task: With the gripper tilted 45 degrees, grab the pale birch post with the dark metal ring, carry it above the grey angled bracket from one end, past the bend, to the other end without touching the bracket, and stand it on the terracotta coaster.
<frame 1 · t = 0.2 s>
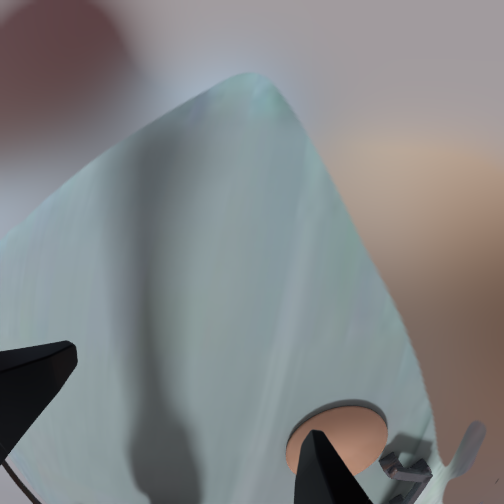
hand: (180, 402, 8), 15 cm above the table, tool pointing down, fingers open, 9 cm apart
terracotta coaster: (337, 446, 22), on the table
grey angled bracket: (418, 466, 21), on the table
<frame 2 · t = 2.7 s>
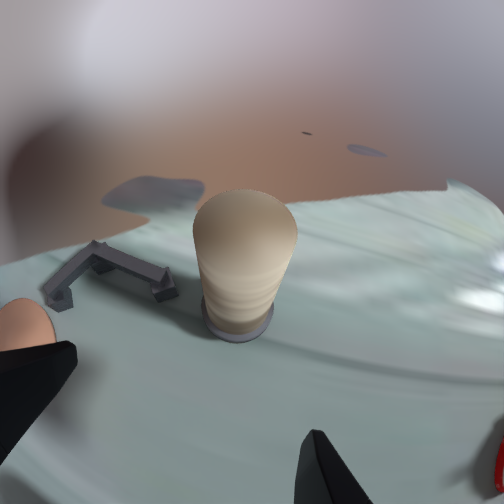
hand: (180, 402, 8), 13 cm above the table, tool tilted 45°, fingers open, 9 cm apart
terracotta coaster: (19, 348, 19), on the table
birch ring post: (236, 317, 24), on the table
grey angled bracket: (104, 263, 25), on the table
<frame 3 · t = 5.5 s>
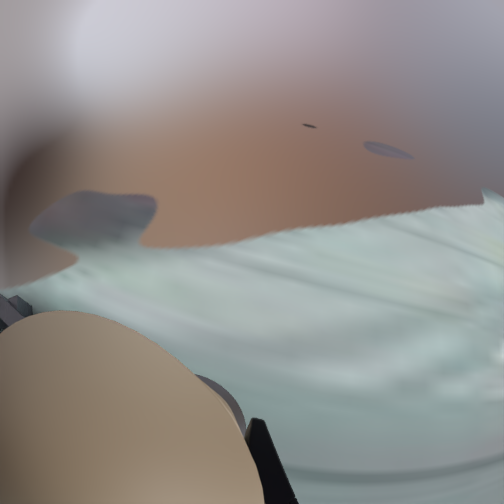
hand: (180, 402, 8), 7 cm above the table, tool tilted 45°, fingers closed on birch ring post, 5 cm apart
birch ring post: (193, 424, 13), on the table, touching gripper
grey angled bracket: (23, 321, 14), on the table
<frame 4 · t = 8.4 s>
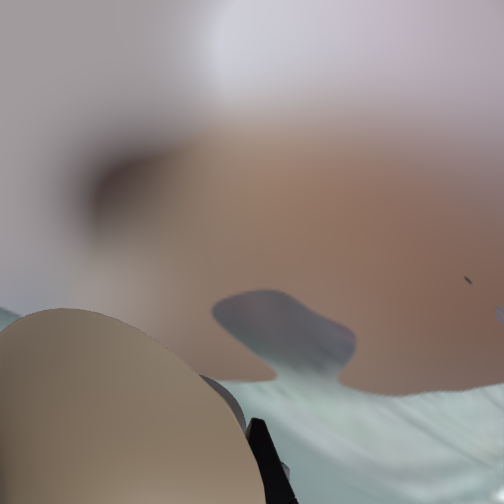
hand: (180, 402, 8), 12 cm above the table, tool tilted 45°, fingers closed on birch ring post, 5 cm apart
birch ring post: (193, 423, 13), point 6 cm above the table, touching gripper
when the fingers open (8 cm above the table, at t = 11.4 s): birch ring post drops 1 cm, resting on terracotta coaster.
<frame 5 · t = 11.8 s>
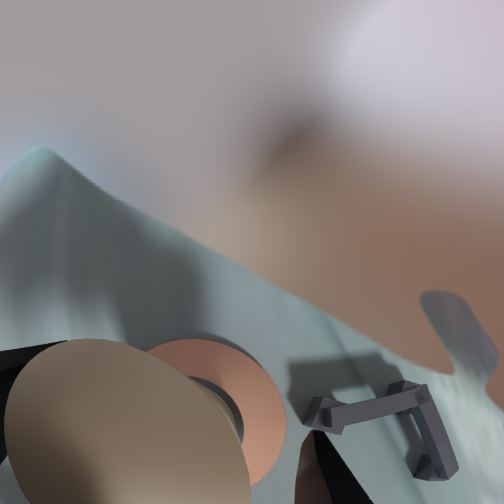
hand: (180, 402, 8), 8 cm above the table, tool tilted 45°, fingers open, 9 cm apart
terracotta coaster: (196, 422, 14), on the table
birch ring post: (194, 423, 14), point 1 cm above the table, touching terracotta coaster
grey angled bracket: (396, 399, 16), on the table
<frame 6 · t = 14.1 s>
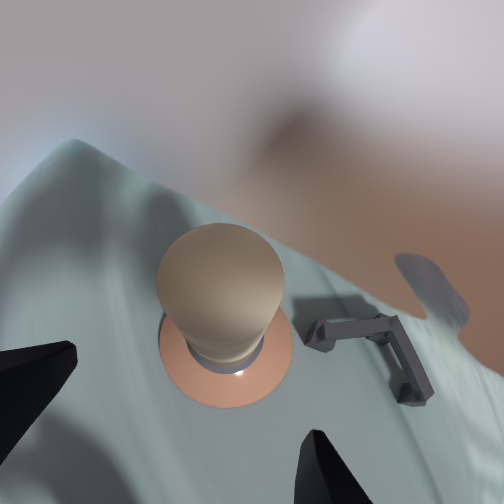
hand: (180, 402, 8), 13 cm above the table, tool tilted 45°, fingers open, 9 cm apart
terracotta coaster: (225, 343, 22), on the table
birch ring post: (225, 342, 21), point 1 cm above the table, touching terracotta coaster
grey angled bracket: (377, 332, 23), on the table
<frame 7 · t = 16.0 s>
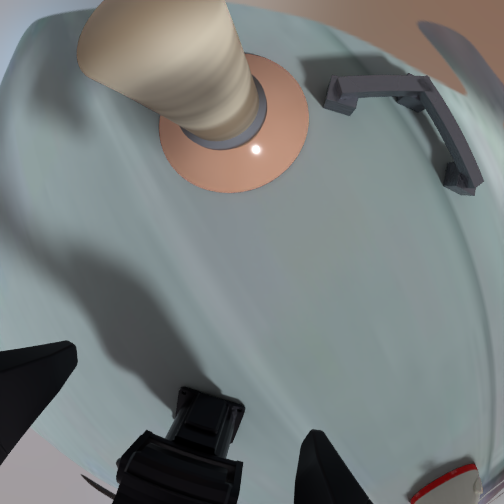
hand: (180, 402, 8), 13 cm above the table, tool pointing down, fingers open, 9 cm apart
terracotta coaster: (231, 119, 18), on the table
birch ring post: (229, 117, 18), point 1 cm above the table, touching terracotta coaster
grey angled bracket: (409, 97, 16), on the table
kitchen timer: (443, 485, 24), on the table
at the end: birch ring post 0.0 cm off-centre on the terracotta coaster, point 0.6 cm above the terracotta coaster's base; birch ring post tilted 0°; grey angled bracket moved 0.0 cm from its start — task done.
